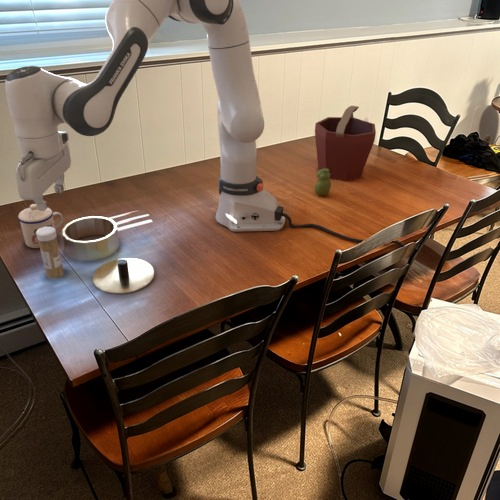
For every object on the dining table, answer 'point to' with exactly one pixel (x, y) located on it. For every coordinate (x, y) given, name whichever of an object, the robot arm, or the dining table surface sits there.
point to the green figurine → (323, 182)
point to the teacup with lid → (36, 223)
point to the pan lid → (123, 276)
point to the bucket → (344, 144)
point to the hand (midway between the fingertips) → (51, 200)
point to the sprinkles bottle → (50, 252)
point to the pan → (95, 247)
